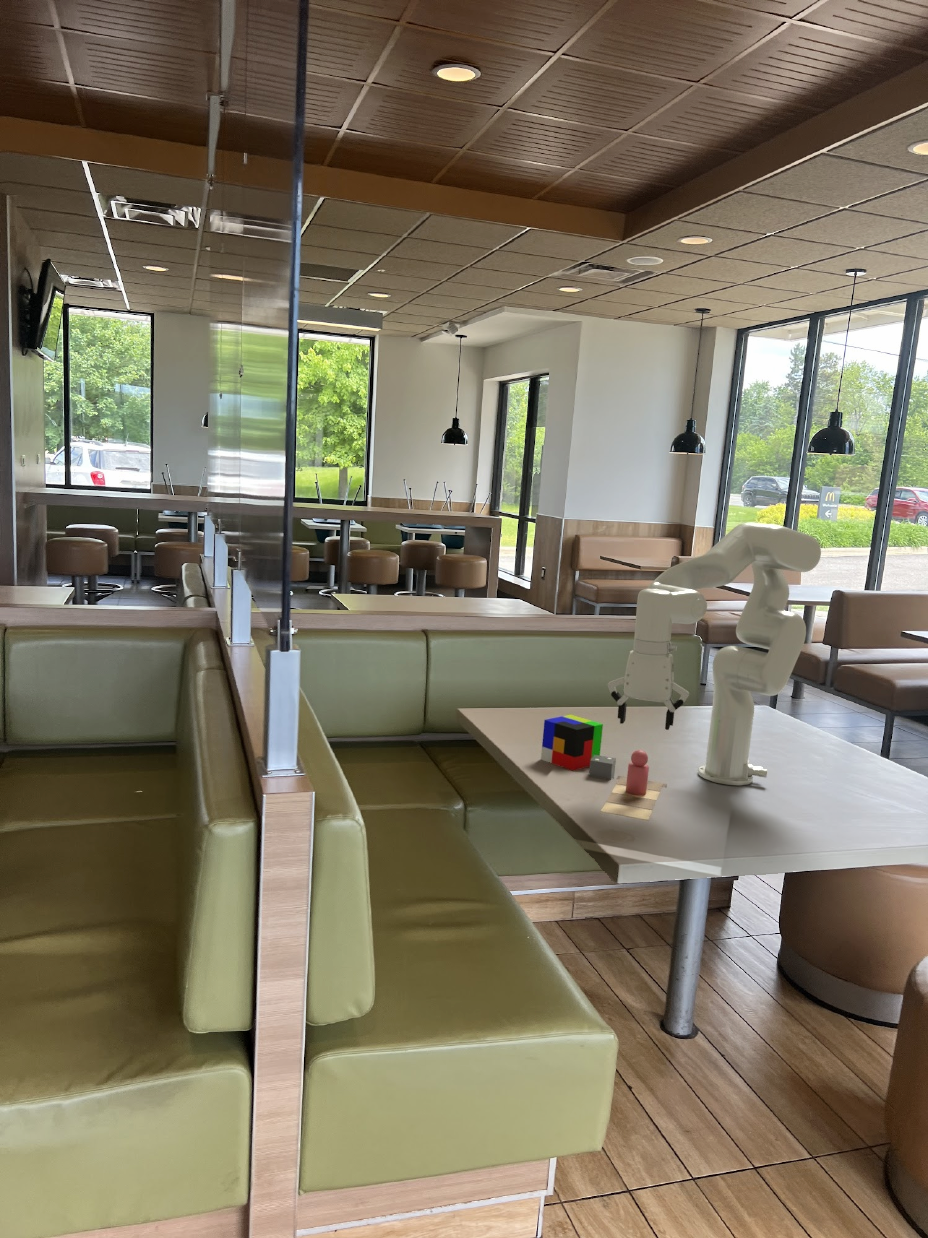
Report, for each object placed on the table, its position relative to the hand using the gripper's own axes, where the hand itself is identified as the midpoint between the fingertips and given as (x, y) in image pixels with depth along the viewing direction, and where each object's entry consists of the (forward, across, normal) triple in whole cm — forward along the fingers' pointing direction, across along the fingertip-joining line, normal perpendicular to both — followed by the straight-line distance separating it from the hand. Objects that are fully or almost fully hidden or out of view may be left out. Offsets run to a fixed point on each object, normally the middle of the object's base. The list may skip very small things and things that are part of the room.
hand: (644, 725), depth 197 cm
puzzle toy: (+17, +19, -17) cm, 31 cm away
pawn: (+15, +1, +1) cm, 15 cm away
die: (+16, +10, -7) cm, 20 cm away
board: (+16, +1, +4) cm, 17 cm away
